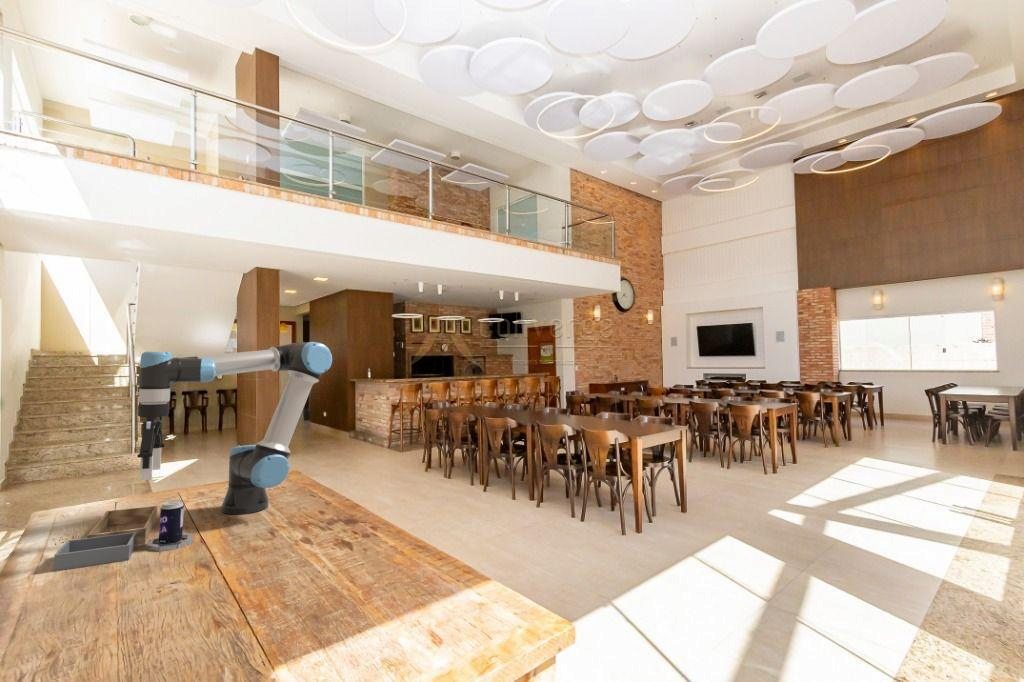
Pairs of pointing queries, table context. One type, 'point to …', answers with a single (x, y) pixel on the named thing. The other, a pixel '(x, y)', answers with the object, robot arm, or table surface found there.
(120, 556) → the bus tray
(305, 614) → the table surface
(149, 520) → the parts crate
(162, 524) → the beverage can
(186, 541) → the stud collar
